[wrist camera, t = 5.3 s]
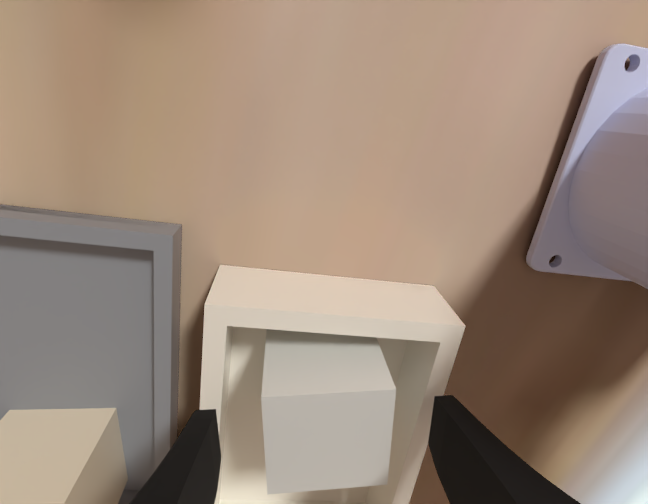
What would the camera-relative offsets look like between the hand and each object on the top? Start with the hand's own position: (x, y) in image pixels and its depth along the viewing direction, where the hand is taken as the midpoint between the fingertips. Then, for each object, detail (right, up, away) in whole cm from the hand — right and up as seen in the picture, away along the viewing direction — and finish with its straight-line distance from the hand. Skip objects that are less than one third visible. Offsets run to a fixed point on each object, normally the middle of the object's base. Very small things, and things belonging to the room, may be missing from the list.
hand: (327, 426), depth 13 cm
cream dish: (-1, -1, +4) cm, 5 cm away
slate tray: (-10, +1, +3) cm, 11 cm away
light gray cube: (0, +1, +3) cm, 3 cm away
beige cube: (-11, -2, +4) cm, 11 cm away
